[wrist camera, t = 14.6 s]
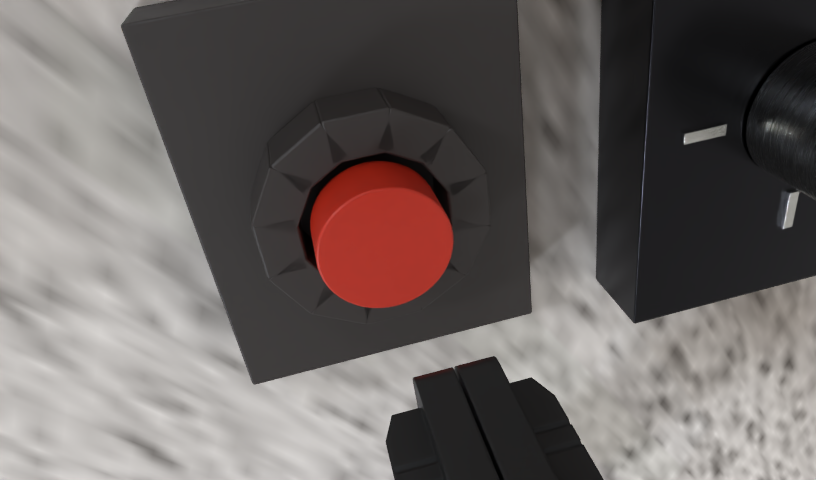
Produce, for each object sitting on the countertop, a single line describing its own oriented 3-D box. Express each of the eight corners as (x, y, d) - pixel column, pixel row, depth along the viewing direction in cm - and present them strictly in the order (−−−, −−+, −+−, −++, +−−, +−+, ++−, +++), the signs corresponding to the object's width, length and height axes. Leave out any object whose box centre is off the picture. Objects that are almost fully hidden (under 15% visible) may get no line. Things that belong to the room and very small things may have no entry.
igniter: (132, 7, 17) (105, 42, 14) (488, -59, 18) (543, -42, 15) (252, 344, 23) (253, 424, 20) (510, 279, 25) (553, 345, 21)
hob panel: (603, -119, 18) (664, -116, 16) (940, -179, 19) (1051, -187, 17) (595, 279, 26) (636, 327, 23) (840, 216, 27) (906, 255, 24)
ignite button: (296, 176, 17) (301, 206, 15) (428, 146, 17) (446, 173, 16) (324, 286, 19) (331, 323, 17) (443, 258, 19) (460, 291, 18)
